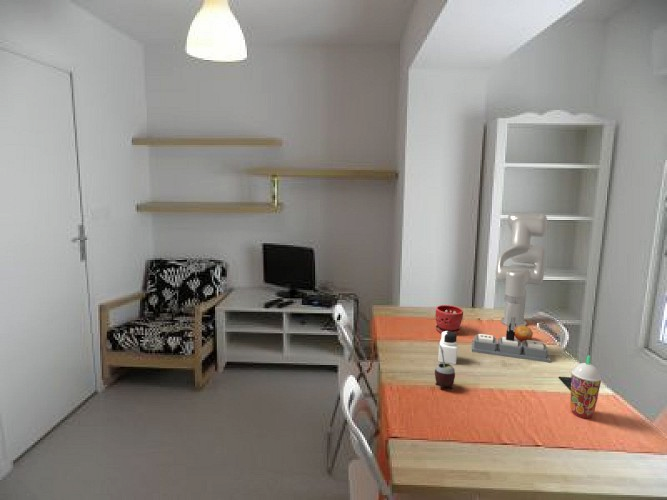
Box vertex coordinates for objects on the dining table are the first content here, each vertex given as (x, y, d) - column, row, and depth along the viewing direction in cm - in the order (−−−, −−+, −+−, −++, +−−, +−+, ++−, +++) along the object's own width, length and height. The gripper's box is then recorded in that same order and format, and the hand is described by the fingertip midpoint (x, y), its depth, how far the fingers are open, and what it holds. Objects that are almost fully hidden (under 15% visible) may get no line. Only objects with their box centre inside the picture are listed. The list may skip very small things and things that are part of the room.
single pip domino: (525, 348, 184) (526, 339, 183) (540, 350, 182) (541, 341, 181) (527, 353, 178) (528, 344, 177) (542, 355, 176) (543, 346, 175)
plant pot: (432, 334, 203) (434, 310, 201) (436, 325, 215) (438, 303, 213) (460, 338, 198) (462, 314, 196) (462, 329, 210) (464, 306, 208)
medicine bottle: (456, 357, 177) (458, 330, 175) (455, 364, 170) (457, 336, 168) (439, 355, 179) (441, 328, 177) (438, 361, 172) (439, 334, 170)
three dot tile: (477, 341, 190) (478, 333, 189) (492, 343, 188) (492, 334, 187) (477, 346, 184) (478, 337, 184) (492, 348, 182) (493, 339, 182)
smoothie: (561, 407, 139) (567, 350, 136) (584, 406, 140) (591, 350, 136) (577, 421, 131) (585, 361, 127) (602, 420, 132) (610, 361, 128)
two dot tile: (501, 344, 187) (502, 336, 186) (515, 346, 185) (516, 337, 184) (502, 350, 181) (503, 340, 180) (517, 352, 179) (518, 342, 179)
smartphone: (576, 377, 160) (597, 397, 145) (576, 379, 160) (596, 399, 145) (558, 376, 160) (576, 395, 145) (557, 378, 160) (576, 398, 146)
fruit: (526, 333, 202) (531, 323, 197) (531, 347, 196) (536, 336, 191) (509, 332, 203) (513, 322, 198) (513, 346, 197) (517, 335, 192)
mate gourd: (450, 393, 147) (453, 353, 144) (429, 387, 151) (431, 348, 148) (456, 384, 153) (459, 346, 151) (435, 379, 157) (438, 341, 155)
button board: (472, 342, 193) (472, 333, 193) (545, 352, 183) (546, 342, 183) (471, 351, 183) (472, 341, 182) (549, 362, 173) (551, 352, 172)
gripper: (503, 293, 187) (499, 332, 190) (505, 302, 173) (501, 344, 176) (521, 295, 185) (517, 334, 188) (525, 304, 171) (520, 347, 174)
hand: (509, 339), depth 182 cm, fingers closed
